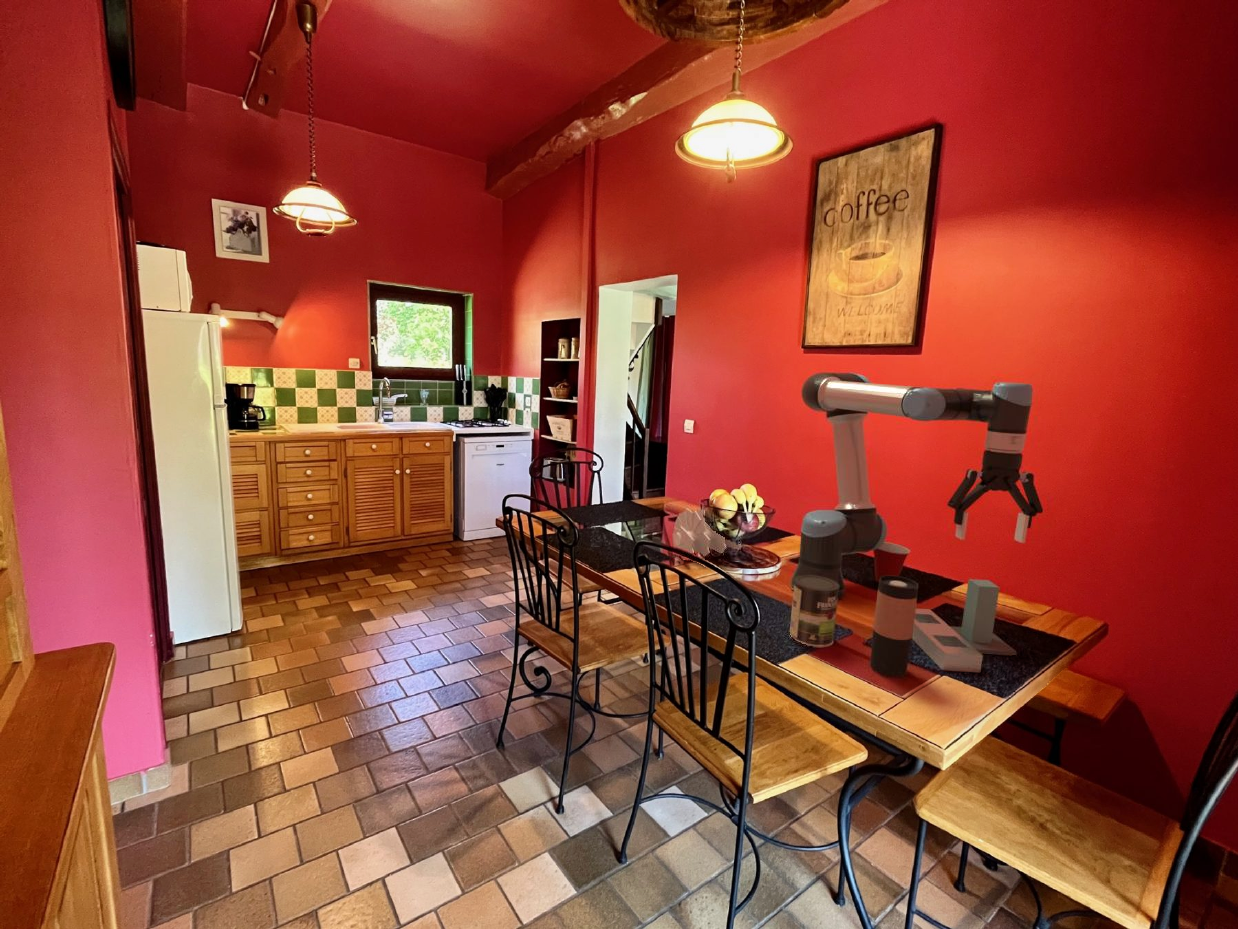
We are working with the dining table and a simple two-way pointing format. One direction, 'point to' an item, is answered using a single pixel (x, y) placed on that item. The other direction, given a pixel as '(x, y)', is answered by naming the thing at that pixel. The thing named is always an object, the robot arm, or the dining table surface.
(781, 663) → the dining table surface
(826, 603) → the coffee can
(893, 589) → the travel mug
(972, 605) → the gray rectangular box
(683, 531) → the spiral staircase
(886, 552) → the plastic cup
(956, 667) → the block with square holes
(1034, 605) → the dining table surface
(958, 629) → the rubber mat
